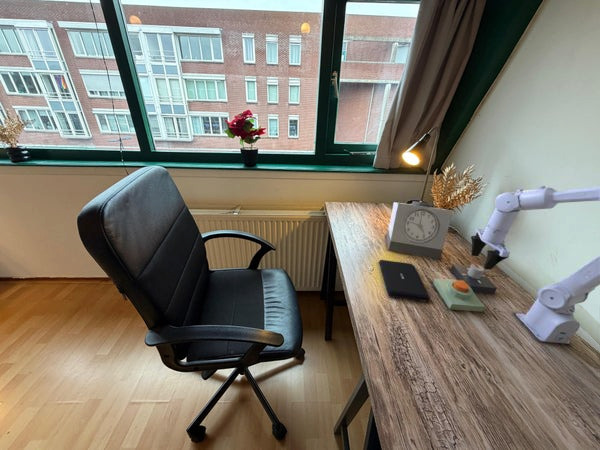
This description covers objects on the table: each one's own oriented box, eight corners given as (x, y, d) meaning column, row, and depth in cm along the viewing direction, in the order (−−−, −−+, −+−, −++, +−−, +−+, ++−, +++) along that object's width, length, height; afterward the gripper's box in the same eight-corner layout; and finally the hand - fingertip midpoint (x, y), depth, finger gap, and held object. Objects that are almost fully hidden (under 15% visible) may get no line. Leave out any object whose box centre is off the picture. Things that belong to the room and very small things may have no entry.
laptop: (421, 268, 93) (422, 264, 93) (431, 306, 76) (433, 301, 75) (378, 260, 97) (379, 255, 96) (378, 294, 80) (380, 289, 79)
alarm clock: (388, 250, 103) (400, 206, 94) (385, 232, 117) (396, 192, 108) (440, 259, 100) (458, 214, 90) (431, 240, 113) (446, 199, 104)
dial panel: (494, 293, 83) (497, 287, 82) (467, 291, 84) (470, 285, 82) (473, 271, 94) (476, 265, 93) (450, 269, 94) (452, 263, 93)
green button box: (482, 311, 76) (487, 302, 74) (449, 309, 76) (454, 299, 74) (461, 285, 86) (465, 276, 84) (432, 283, 86) (436, 274, 85)
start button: (469, 293, 78) (471, 289, 77) (456, 292, 78) (458, 287, 77) (462, 284, 81) (464, 280, 80) (450, 283, 81) (452, 279, 80)
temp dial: (482, 279, 86) (487, 270, 84) (471, 278, 86) (475, 269, 84) (476, 272, 89) (480, 263, 88) (465, 271, 89) (469, 262, 88)
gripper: (527, 240, 73) (506, 276, 79) (495, 218, 85) (479, 251, 92) (503, 238, 73) (484, 274, 79) (475, 217, 86) (461, 249, 92)
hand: (480, 261), depth 86 cm, fingers open, 7 cm apart
